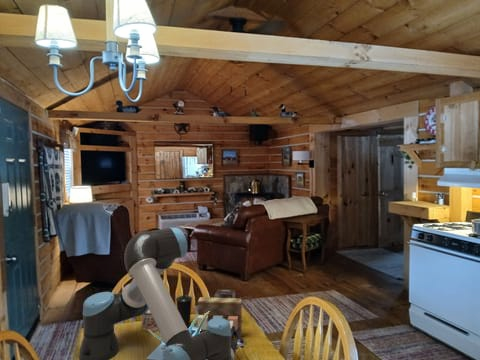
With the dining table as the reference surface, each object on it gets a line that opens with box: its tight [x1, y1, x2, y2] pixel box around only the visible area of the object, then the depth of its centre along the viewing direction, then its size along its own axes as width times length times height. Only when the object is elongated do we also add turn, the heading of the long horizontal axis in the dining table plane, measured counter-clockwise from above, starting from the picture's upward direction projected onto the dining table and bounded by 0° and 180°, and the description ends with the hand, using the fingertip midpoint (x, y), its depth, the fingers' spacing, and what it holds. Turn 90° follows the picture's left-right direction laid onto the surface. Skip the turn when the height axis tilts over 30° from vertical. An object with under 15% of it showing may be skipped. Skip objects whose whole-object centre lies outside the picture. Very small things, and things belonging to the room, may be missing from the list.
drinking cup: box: [175, 284, 193, 329], centre depth 167 cm, size 8×8×20 cm
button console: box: [197, 296, 243, 340], centre depth 159 cm, size 19×6×17 cm, turn 85°
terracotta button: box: [228, 315, 238, 330], centre depth 153 cm, size 4×8×5 cm, turn 175°
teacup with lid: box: [141, 310, 159, 333], centre depth 166 cm, size 12×9×12 cm
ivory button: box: [197, 314, 208, 330], centre depth 154 cm, size 4×8×5 cm, turn 175°
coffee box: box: [214, 288, 237, 298], centre depth 170 cm, size 9×6×16 cm
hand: (231, 324), depth 143 cm, fingers closed
